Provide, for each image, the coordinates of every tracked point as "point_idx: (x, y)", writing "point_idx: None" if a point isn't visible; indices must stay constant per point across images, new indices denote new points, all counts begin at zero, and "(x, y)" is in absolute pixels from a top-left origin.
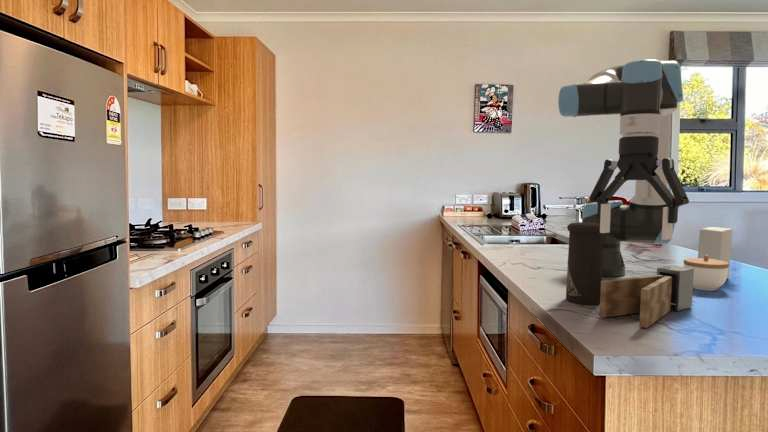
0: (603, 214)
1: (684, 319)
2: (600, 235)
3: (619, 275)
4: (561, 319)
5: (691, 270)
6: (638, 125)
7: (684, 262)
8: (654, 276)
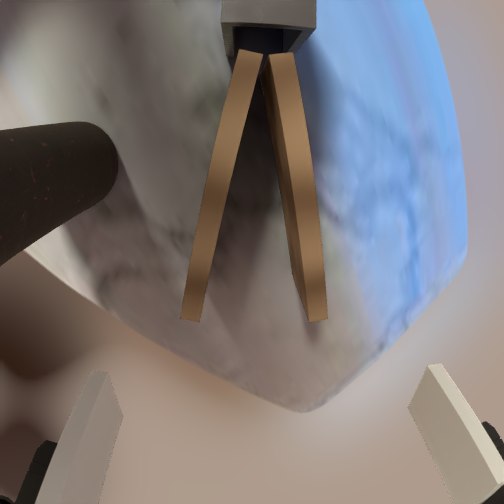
0: (98, 494)
1: (329, 116)
2: None
3: None
4: (162, 338)
5: None
6: None
7: None
8: (247, 96)
